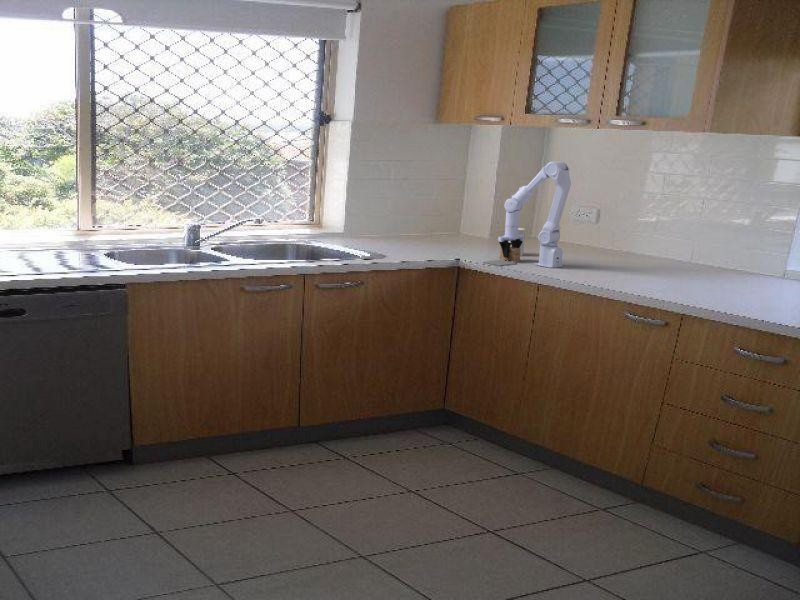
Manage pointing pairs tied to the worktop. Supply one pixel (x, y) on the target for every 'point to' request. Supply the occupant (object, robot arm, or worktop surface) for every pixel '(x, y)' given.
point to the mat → (499, 262)
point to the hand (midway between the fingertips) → (510, 257)
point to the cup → (521, 232)
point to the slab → (511, 254)
